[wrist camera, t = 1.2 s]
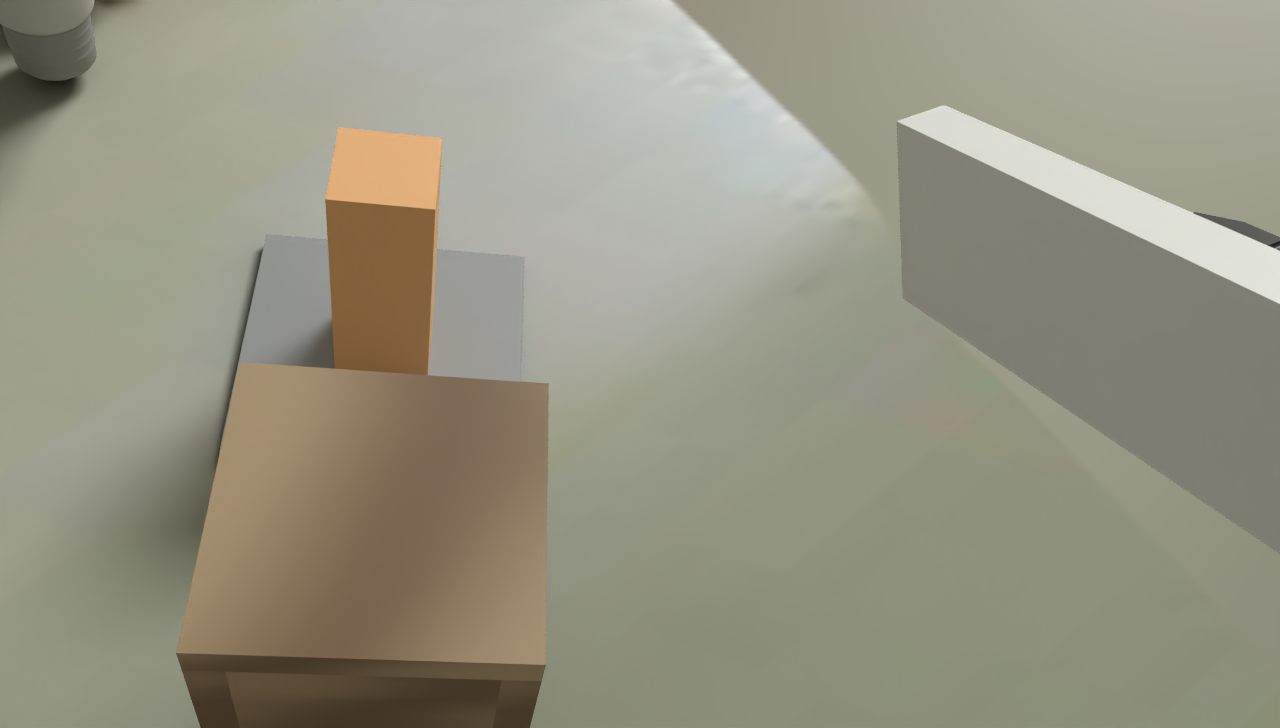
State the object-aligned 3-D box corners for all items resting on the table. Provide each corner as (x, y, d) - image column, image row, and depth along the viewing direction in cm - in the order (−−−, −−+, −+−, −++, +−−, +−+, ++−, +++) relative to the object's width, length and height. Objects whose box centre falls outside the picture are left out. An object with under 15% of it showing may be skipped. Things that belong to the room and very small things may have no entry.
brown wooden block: (249, 878, 25) (176, 653, 16) (285, 653, 29) (239, 362, 20) (490, 878, 26) (545, 665, 17) (498, 660, 29) (548, 383, 20)
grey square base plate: (221, 457, 32) (185, 272, 26) (267, 243, 36) (245, 49, 31) (517, 474, 33) (544, 302, 27) (523, 265, 38) (548, 82, 32)
